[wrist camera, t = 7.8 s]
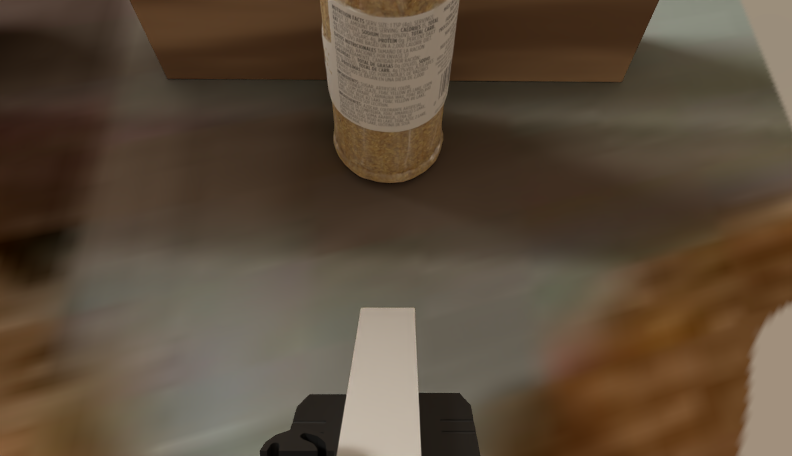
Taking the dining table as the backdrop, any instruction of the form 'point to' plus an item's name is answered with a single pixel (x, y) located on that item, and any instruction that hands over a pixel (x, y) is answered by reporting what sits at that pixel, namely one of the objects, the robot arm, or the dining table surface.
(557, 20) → the walnut board
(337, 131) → the sprinkles bottle
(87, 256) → the dining table surface
